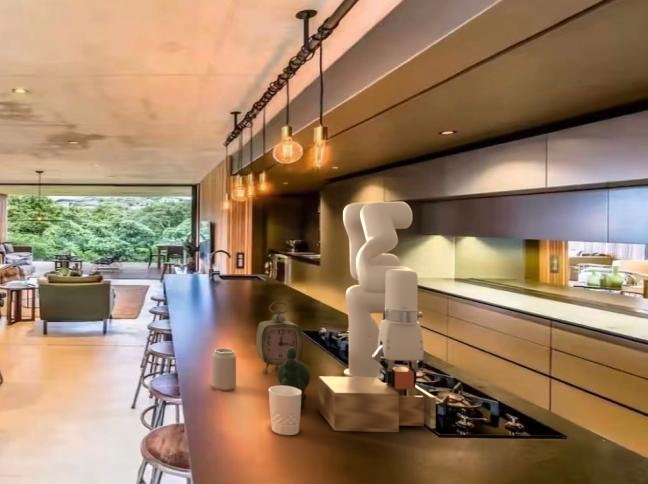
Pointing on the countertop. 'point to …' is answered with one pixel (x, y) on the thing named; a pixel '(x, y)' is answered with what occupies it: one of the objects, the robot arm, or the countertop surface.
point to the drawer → (417, 407)
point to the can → (224, 369)
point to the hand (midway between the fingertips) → (400, 384)
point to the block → (403, 378)
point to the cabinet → (358, 404)
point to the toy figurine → (294, 374)
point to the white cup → (285, 409)
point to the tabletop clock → (278, 339)
